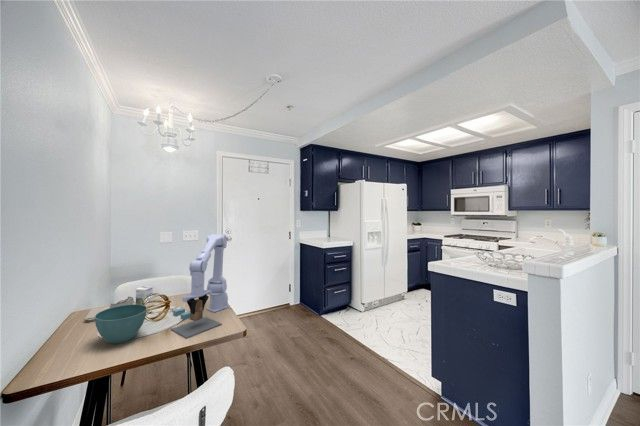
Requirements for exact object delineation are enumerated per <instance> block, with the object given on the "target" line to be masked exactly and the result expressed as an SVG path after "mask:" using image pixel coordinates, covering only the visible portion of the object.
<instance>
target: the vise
mask: <svg viewBox="0 0 640 426" xmlns="http://www.w3.org/2000/svg"><path fill="white" fill-rule="evenodd" d="M169 311H172V316H174V317H178V316H180V319H181V320H182V319H183V320H182V321H185V320H188V319H190V310H189V311H186V308H184V307H180V308H178V307H177V306H175V307H171V308H169Z"/></svg>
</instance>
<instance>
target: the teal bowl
mask: <svg viewBox="0 0 640 426" xmlns="http://www.w3.org/2000/svg"><path fill="white" fill-rule="evenodd" d="M146 312H147V307H146V306H144V305H137V304H136V303H133V305H123V306H117V307H113V308H109V309H106V310H103V311H101V312H99V313H97V314H96V315H95V322H94V323H95V327H96V330H97V332H98V334H99V335H100V337H102V338H103V339H104V340H105V341H106V342H107V343H108V344H109V343H110V344H112V345H114V344H115V345H116V344H117V345H118V344H123V343H125V342H129V341H130V340H132V339H133V338H134V337H135V336H136V335H137V333H138V332H139V331H140V330H141V328H142V326H143V324H144V322H145V319H146V316H147V315H146Z"/></svg>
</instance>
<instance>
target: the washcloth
mask: <svg viewBox="0 0 640 426" xmlns="http://www.w3.org/2000/svg"><path fill="white" fill-rule="evenodd" d="M109 308H110V305H109V306H104V307H102V306H101V307H95V308H91V309H89V311H88V313H87V314H86V316H85V317H84V318H83V319H84V324H87V323H95V315H96V314H97V313H99V312H101V311H103V310H106V309H109Z"/></svg>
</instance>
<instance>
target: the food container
mask: <svg viewBox="0 0 640 426" xmlns="http://www.w3.org/2000/svg"><path fill="white" fill-rule="evenodd" d="M133 304H135V299H134V297H132V296H127V298H126V299H123V300H120V301H118V302H116V303H110V305H109V306H110V308H113V307H117V306H123V305H133Z"/></svg>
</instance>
